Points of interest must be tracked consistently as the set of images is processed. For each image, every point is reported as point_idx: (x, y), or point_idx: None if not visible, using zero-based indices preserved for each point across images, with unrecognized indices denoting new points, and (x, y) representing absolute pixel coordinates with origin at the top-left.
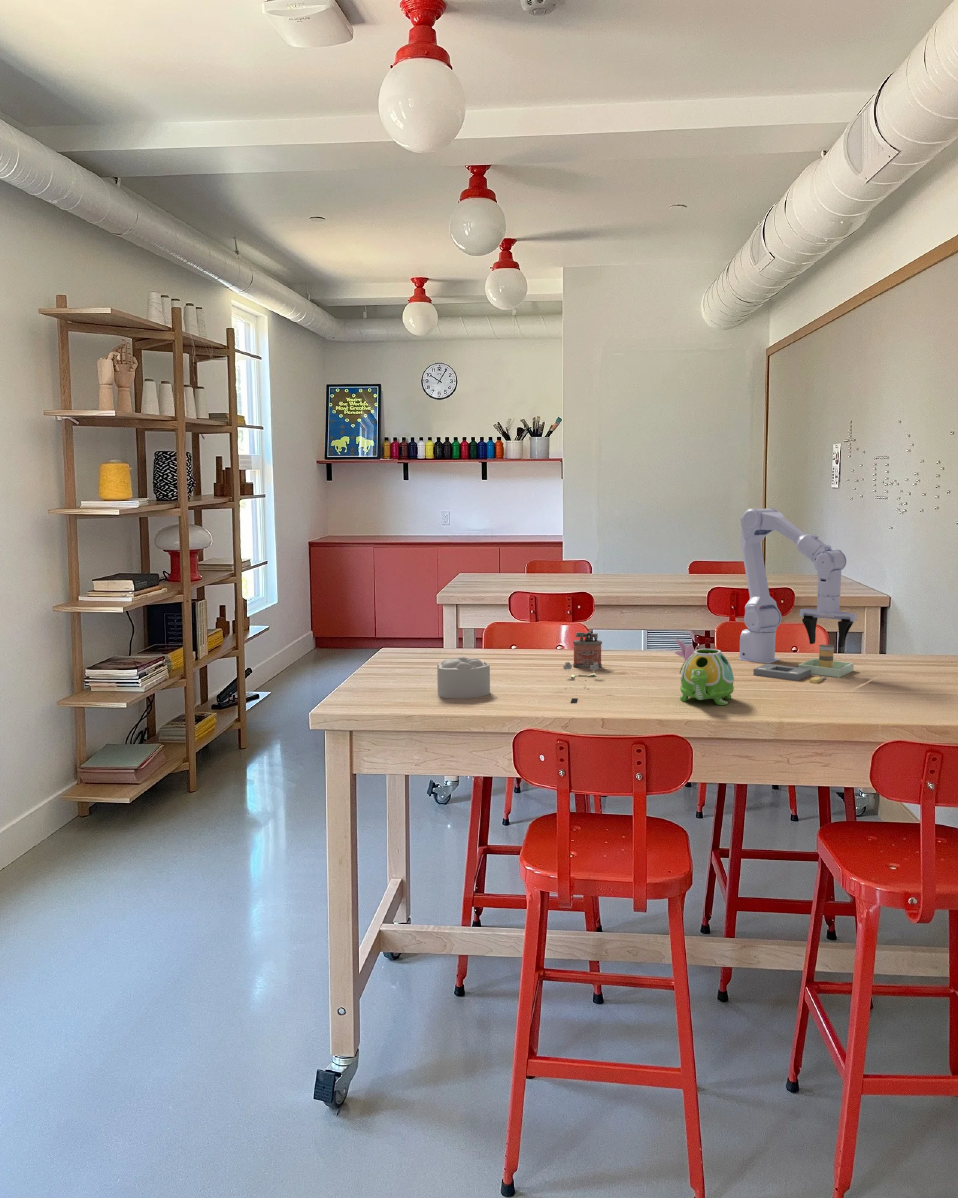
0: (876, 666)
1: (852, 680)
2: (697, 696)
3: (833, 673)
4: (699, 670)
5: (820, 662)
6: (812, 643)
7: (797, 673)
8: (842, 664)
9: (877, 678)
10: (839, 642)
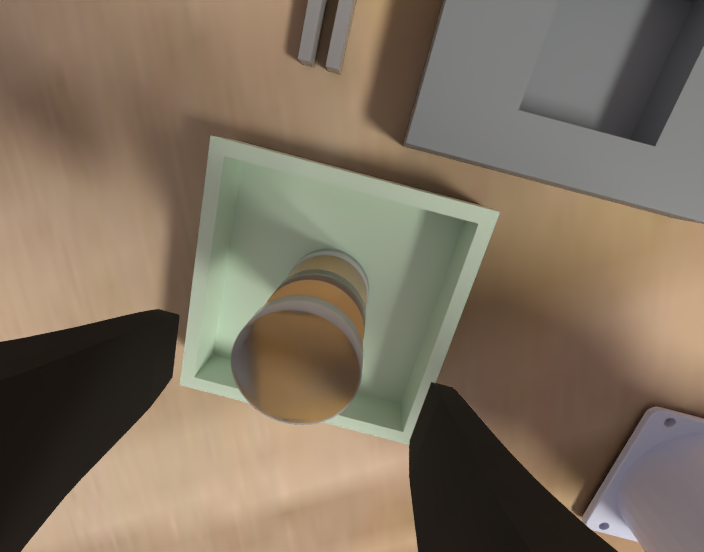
0: (145, 512)
1: (162, 132)
2: None
3: (261, 147)
4: None
5: (353, 279)
6: (429, 390)
7: None
8: None
9: (66, 247)
10: (134, 319)
